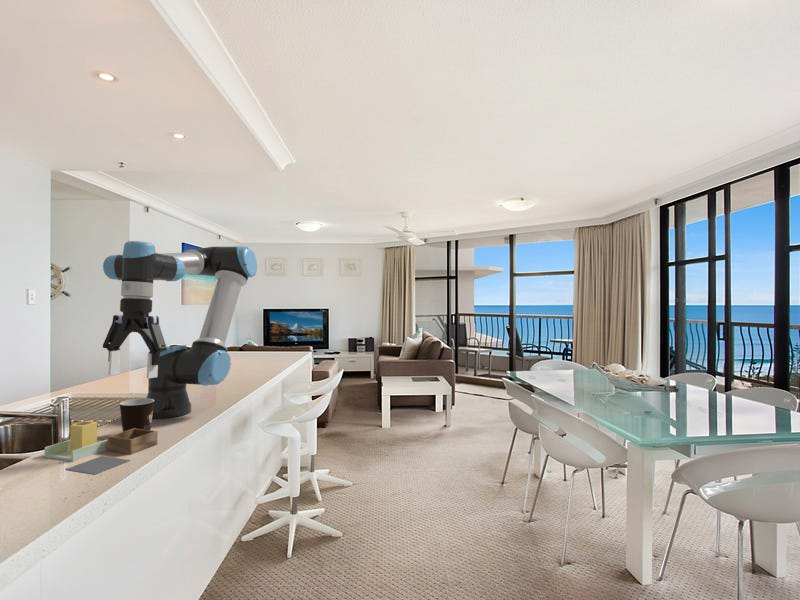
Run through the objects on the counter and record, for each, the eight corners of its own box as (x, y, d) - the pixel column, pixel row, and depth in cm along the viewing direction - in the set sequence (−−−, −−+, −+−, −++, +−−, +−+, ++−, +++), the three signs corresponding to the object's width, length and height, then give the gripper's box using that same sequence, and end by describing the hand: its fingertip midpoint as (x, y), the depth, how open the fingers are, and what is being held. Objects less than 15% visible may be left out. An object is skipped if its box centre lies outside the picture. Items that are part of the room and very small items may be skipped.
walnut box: (133, 442, 120) (134, 428, 120) (157, 445, 118) (157, 431, 118) (107, 452, 113) (107, 436, 113) (131, 455, 111) (131, 440, 111)
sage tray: (92, 443, 120) (92, 432, 120) (119, 446, 117) (119, 436, 117) (44, 458, 108) (44, 447, 108) (73, 463, 105) (73, 451, 105)
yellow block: (85, 447, 115) (85, 420, 115) (96, 449, 114) (97, 421, 114) (69, 452, 111) (70, 424, 111) (81, 454, 110) (82, 426, 110)
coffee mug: (137, 442, 121) (138, 406, 121) (111, 440, 123) (112, 404, 123) (168, 430, 132) (168, 397, 132) (143, 428, 134) (144, 395, 134)
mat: (101, 458, 109) (101, 456, 109) (130, 462, 106) (130, 460, 106) (65, 471, 100) (65, 469, 100) (95, 476, 98) (95, 474, 98)
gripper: (90, 297, 120) (85, 374, 119) (160, 297, 113) (156, 380, 111) (115, 298, 127) (111, 371, 126) (183, 299, 120) (179, 377, 119)
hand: (132, 376), depth 119 cm, fingers open, 13 cm apart
